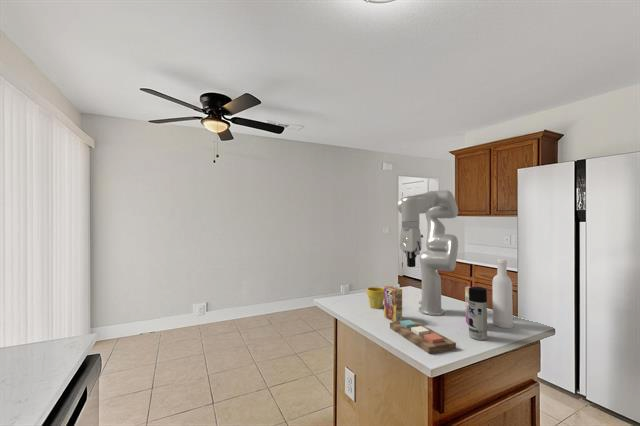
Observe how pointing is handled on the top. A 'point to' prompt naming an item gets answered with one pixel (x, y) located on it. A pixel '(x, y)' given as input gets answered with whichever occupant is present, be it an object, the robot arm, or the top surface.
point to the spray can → (478, 313)
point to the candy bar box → (467, 303)
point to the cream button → (419, 330)
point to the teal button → (408, 323)
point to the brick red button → (433, 338)
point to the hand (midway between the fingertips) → (411, 266)
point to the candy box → (393, 303)
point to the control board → (421, 341)
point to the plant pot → (375, 296)
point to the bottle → (502, 297)
